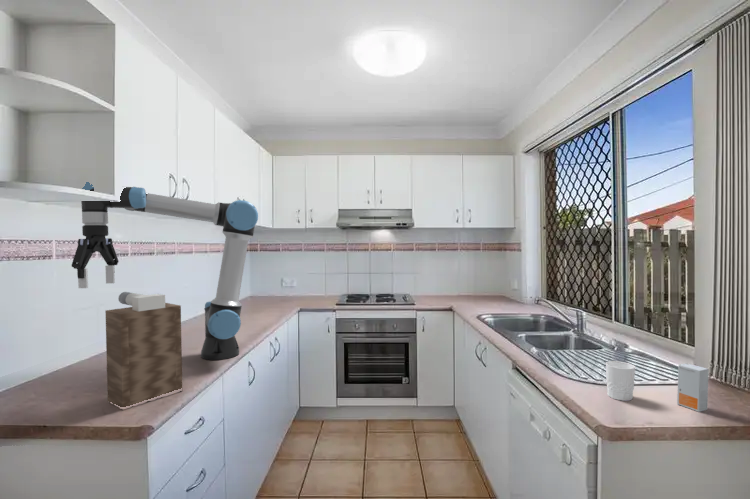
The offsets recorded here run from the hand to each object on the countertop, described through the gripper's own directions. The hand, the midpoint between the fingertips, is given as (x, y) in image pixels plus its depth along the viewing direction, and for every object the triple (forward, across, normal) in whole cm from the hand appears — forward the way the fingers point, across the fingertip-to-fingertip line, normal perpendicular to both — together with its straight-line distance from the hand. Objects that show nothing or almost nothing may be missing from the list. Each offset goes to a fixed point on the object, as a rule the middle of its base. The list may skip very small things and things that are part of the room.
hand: (97, 285), depth 148 cm
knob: (+5, +13, +22) cm, 26 cm away
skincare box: (+34, +19, +190) cm, 194 cm away
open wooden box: (+33, +16, +26) cm, 45 cm away
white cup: (+34, +12, +173) cm, 177 cm away
